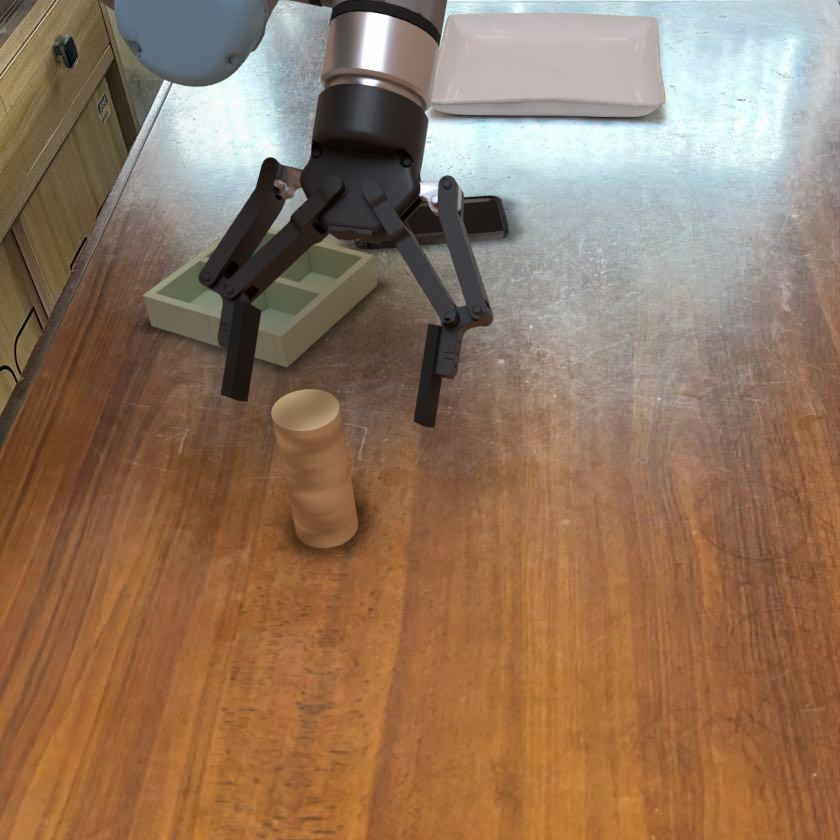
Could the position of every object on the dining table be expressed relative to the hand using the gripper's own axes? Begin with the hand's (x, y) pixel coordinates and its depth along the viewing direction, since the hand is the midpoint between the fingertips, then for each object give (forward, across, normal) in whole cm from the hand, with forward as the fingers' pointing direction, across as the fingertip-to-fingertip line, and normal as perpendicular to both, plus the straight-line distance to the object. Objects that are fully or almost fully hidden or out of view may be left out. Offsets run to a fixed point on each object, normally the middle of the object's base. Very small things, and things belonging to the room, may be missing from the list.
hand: (327, 412), depth 75 cm
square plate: (-49, +2, -62) cm, 79 cm away
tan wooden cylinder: (+8, 0, -4) cm, 9 cm away
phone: (-22, +5, -35) cm, 42 cm away
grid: (-10, +16, -23) cm, 29 cm away
